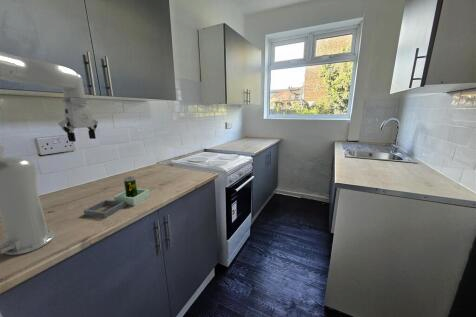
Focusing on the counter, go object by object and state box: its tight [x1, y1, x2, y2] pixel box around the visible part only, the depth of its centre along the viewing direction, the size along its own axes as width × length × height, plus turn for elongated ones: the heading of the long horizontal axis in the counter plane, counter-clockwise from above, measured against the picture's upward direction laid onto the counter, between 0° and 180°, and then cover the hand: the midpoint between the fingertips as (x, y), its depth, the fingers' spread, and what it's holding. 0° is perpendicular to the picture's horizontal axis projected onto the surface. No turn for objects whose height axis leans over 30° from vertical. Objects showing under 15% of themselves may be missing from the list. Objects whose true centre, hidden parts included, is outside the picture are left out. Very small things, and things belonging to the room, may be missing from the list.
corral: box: [83, 199, 126, 219], centre depth 94 cm, size 12×12×2 cm
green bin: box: [113, 188, 151, 207], centre depth 105 cm, size 12×12×4 cm
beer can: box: [123, 175, 138, 198], centre depth 103 cm, size 5×5×12 cm
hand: (83, 139), depth 93 cm, fingers open, 9 cm apart
